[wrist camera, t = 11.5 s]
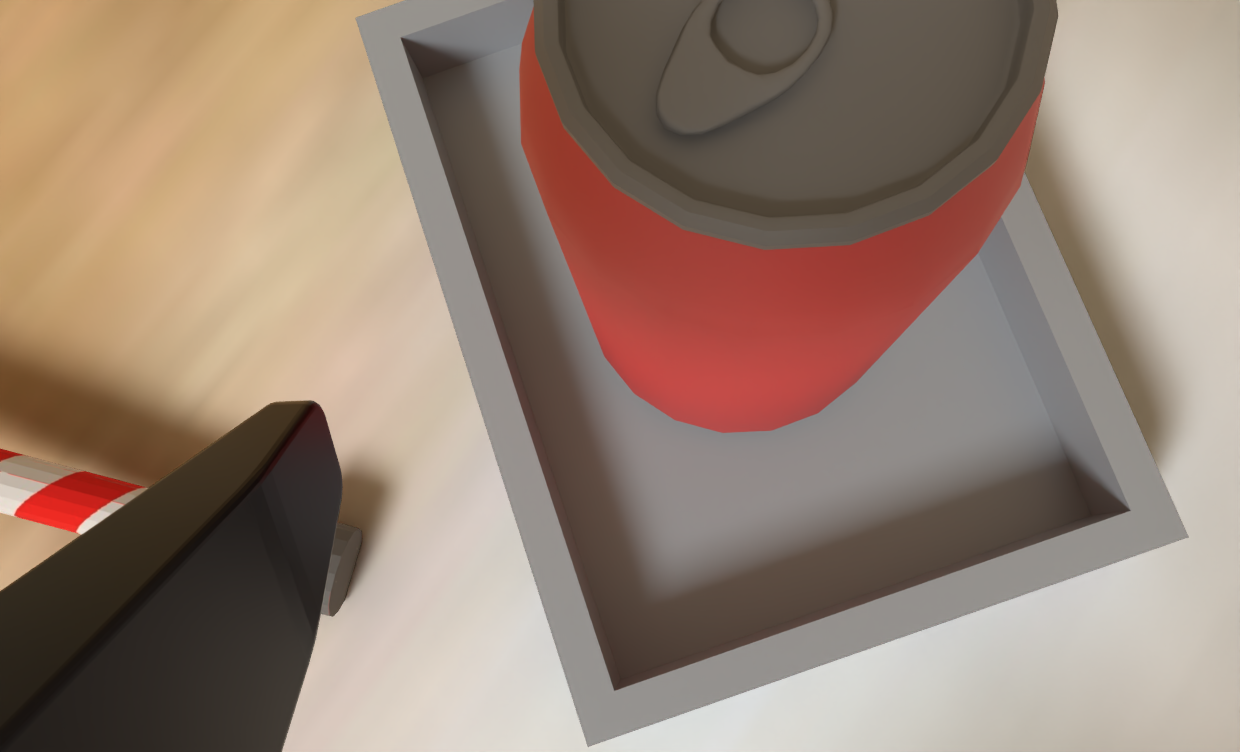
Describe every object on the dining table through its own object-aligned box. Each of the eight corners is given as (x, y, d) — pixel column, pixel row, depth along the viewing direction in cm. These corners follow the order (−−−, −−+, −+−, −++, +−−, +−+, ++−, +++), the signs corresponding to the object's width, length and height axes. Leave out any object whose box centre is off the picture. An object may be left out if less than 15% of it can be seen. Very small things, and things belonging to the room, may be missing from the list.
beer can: (527, 301, 23) (357, 21, 11) (724, 93, 23) (762, -384, 12) (749, 501, 22) (824, 427, 10) (949, 278, 22) (1246, -42, 10)
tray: (1131, 539, 22) (1188, 537, 19) (599, 726, 22) (588, 747, 19) (854, -92, 25) (873, -164, 22) (388, 71, 25) (355, 17, 22)
